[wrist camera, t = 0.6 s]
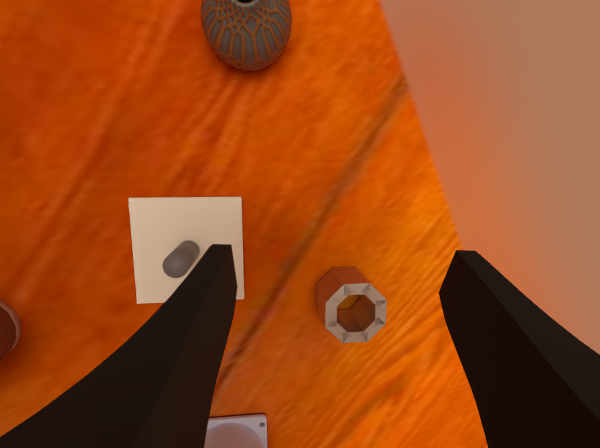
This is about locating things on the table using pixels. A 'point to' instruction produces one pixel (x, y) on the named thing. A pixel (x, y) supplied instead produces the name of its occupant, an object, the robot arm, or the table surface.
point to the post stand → (180, 240)
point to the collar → (361, 316)
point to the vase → (247, 30)
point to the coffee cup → (8, 329)
